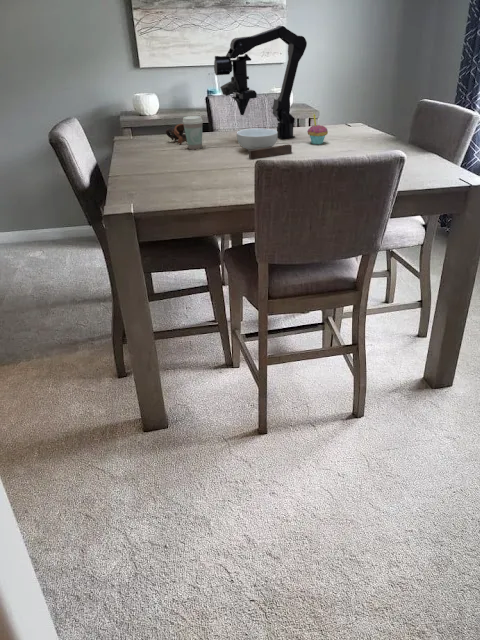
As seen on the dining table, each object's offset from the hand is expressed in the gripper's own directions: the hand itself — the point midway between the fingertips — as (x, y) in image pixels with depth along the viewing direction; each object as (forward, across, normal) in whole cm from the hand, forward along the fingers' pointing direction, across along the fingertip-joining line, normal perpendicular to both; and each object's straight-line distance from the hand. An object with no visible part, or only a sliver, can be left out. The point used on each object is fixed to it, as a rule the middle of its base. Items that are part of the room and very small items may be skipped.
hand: (242, 115), depth 213 cm
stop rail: (+11, +30, -2) cm, 32 cm away
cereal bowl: (+11, +18, -2) cm, 21 cm away
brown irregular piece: (+11, -15, -24) cm, 31 cm away
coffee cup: (+11, 0, -23) cm, 25 cm away
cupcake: (+11, +21, +25) cm, 35 cm away
